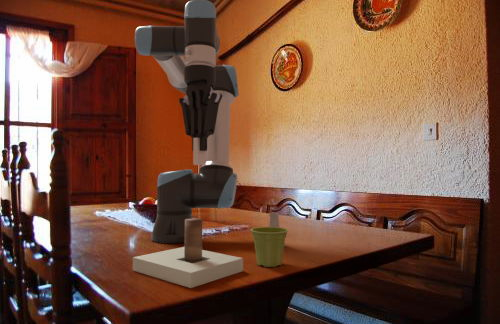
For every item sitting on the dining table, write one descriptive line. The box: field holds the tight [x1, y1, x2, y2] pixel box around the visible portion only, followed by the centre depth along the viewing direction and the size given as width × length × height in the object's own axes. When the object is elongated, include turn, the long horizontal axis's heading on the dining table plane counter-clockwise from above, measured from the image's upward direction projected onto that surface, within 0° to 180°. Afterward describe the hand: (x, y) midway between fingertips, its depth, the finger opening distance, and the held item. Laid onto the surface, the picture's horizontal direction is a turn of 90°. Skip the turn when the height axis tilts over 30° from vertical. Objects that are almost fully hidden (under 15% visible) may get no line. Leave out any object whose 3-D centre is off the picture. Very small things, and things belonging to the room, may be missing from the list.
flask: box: [268, 212, 286, 247], centre depth 113 cm, size 7×7×10 cm
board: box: [132, 246, 244, 289], centre depth 85 cm, size 20×16×3 cm
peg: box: [184, 217, 203, 263], centre depth 84 cm, size 4×4×12 cm
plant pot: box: [250, 226, 289, 268], centre depth 91 cm, size 9×9×9 cm
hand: (199, 164), depth 88 cm, fingers closed
